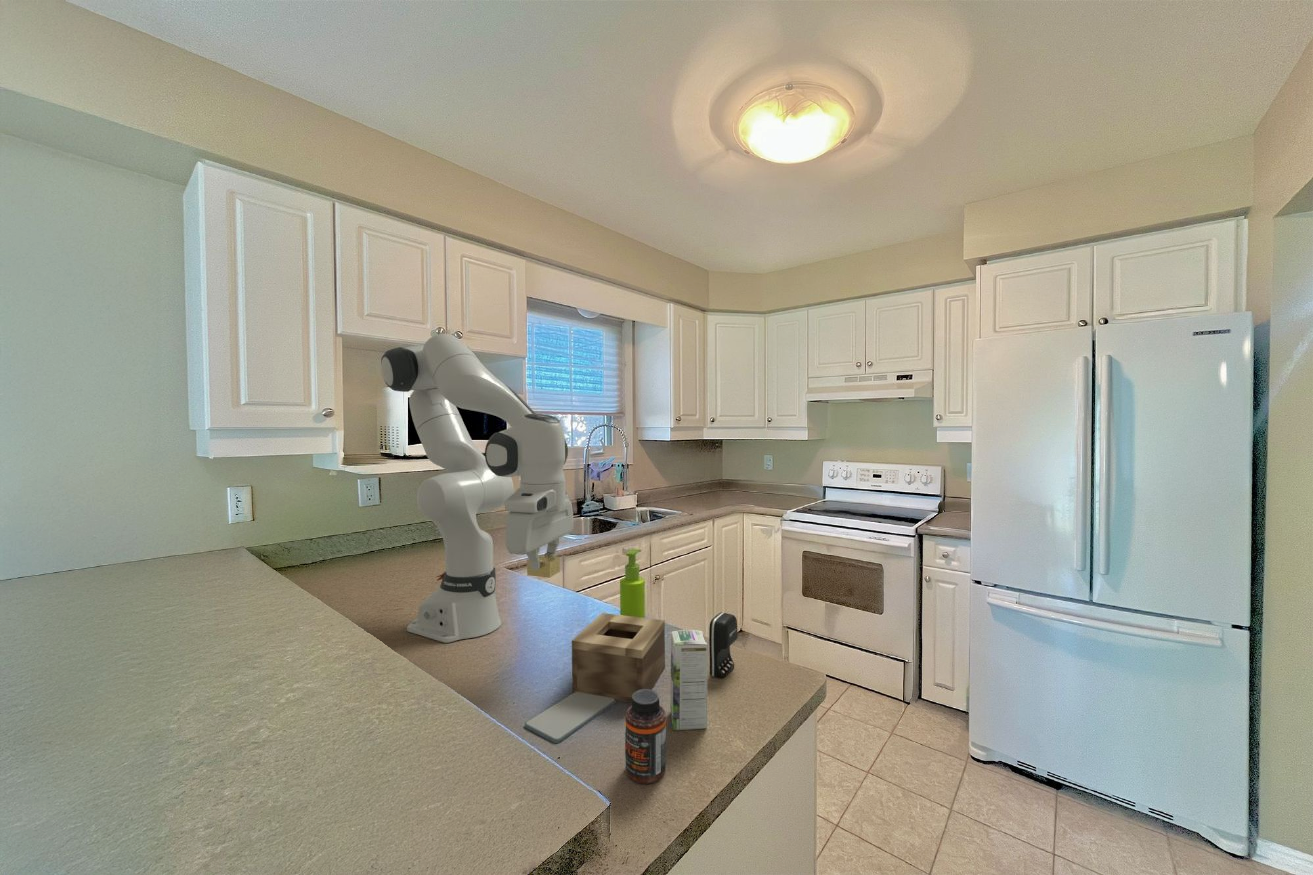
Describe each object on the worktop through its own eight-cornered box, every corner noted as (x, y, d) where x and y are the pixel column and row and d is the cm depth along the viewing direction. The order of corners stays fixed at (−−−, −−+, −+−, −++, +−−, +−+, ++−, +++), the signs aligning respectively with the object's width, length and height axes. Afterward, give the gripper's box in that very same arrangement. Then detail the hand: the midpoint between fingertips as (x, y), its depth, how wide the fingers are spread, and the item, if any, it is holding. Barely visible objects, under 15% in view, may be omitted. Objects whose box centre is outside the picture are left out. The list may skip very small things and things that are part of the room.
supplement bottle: (617, 779, 72) (617, 701, 72) (636, 753, 78) (635, 681, 77) (656, 791, 70) (655, 710, 69) (672, 764, 75) (671, 689, 75)
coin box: (572, 692, 95) (571, 640, 94) (602, 658, 108) (601, 612, 108) (642, 704, 91) (642, 650, 90) (664, 668, 104) (664, 620, 104)
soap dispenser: (650, 629, 123) (649, 548, 123) (639, 641, 117) (639, 555, 116) (627, 626, 125) (627, 546, 124) (616, 637, 119) (615, 553, 118)
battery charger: (726, 682, 98) (726, 624, 98) (708, 677, 100) (708, 620, 100) (739, 666, 104) (739, 612, 104) (722, 662, 106) (722, 609, 106)
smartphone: (617, 699, 92) (557, 740, 80) (617, 704, 92) (557, 747, 80) (584, 685, 97) (522, 722, 85) (584, 690, 97) (522, 728, 85)
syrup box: (669, 711, 89) (669, 630, 88) (702, 709, 89) (702, 628, 89) (673, 731, 83) (672, 644, 82) (709, 729, 83) (708, 643, 83)
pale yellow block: (527, 575, 99) (527, 560, 99) (537, 569, 103) (537, 554, 103) (549, 577, 98) (549, 562, 98) (559, 571, 102) (559, 556, 101)
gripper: (554, 488, 111) (554, 550, 111) (498, 503, 91) (499, 579, 92) (580, 489, 109) (580, 553, 109) (529, 505, 89) (530, 582, 90)
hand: (543, 565), depth 100 cm, fingers closed on pale yellow block, 4 cm apart
